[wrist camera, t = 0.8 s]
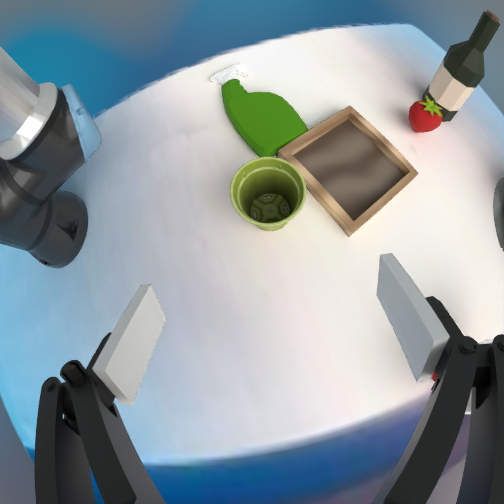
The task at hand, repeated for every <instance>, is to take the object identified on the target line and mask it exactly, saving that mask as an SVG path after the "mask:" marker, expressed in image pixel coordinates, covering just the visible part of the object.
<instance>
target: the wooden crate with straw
mask: <svg viewBox="0 0 504 504" xmlns="http://www.w3.org/2000/svg"><path fill="white" fill-rule="evenodd" d="M493 208H494V220H495V226H496V231H497V236H498V239H499V243H500V246H501V248H503V251H504V178H502V179H501V180H500V181H499V182H498V184H497V186H496V189H495V193H494V204H493Z"/></svg>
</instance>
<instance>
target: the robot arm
mask: <svg viewBox="0 0 504 504" xmlns="http://www.w3.org/2000/svg"><path fill="white" fill-rule="evenodd" d="M101 140H102V137H101V134H100V132H99V130H98V128H97V126H96V125H95V123H94V121H93V120H92V118H91V116H90V114H89V113H88V111H87V110H86V108H85V106H84V104H83V103H82V101H81V99H80V98H79V96H78V94H77V93H76V91H75V90H74V88H73V87H72V85H71V84H67V85H65V86H63V87H61V89H60V90H59V89H58V88H57V87H56V85H54V84H53V83H49V82H48V83H43V84H39V85H37V84H36V83H35V82H34V81H33V80H32V79H31V78H30V77H29V76H28V75H27V74H26V73H25V72H24V71H23V70H22V69H21V68H20V67H19V66H18V65H17V64H16V63H15V61H13V59H12V58H11V57H10V56H9V55H8V54H6V52H5V51H4V50H3V49H2V48H1V47H0V243H1V244H4V245H8V246H11V247H15V248H18V249H22V250H25V251H27V252H29V253H30V254H31V255H32V256H33V257H35V258H36V259H37V260H38V261H39V262H41V263H42V264H44V265H46V266H49V267H53V268H61V267H64V266H66V265H67V264H69V263H70V262H71V261H72V260H73V259H74V258H75V257H76V255H77V254H78V252H79V251H80V249H81V247H82V245H83V242H84V239H85V236H86V232H87V224H88V216H87V210H86V207H85V205H84V203H83V201H82V200H81V199H80V198H79V197H77V196H76V195H74V194H72V193H70V192H66V191H57V190H58V189H59V187H60V186H61V185H62V184H63V183H64V182H65V181H66V180H67V179H68V178H69V177H70V176H71V175H72V174H73V173H74V172H75V171H76V170H77V169H78V168H79V167H81V166H82V165H83V164H84V163H86V161H87V160H88V158H89V157H90V156H91V155H92V154H93V153H94V152H95V151H96V150H97V149H98V148H99V146H100V144H101ZM377 297H378V299H379V301H380V303H381V305H382V307H383V309H384V311H385V313H386V315H387V317H388V319H389V321H390V323H391V325H392V327H393V329H394V331H395V334H396V336H397V338H398V340H399V342H400V344H401V347H402V349H403V351H404V353H405V356H406V358H407V360H408V363H409V365H410V367H411V370H412V372H413V375H414V377H415V380H416V382H417V383H418V382H421V381H424V380H427V379H430V378H431V377H432V375H433V373H434V371H435V372H436V374H437V376H438V378H437V379H436V381H435V383H434V385H433V387H432V389H431V390H432V393H431V395H430V398H429V400H428V403H427V405H426V407H425V410H424V412H423V414H422V417H421V419H420V421H419V423H418V425H417V428H416V430H415V432H414V434H413V436H412V438H411V440H410V442H409V444H408V445H407V447H406V449H405V451H404V453H403V455H402V457H401V458H400V460H399V462H398V464H397V465H396V467H395V469H394V470H393V472H392V474H391V475H390V477H389V478H388V480H387V481H386V483H385V485H384V486H383V488H382V489H381V490H380V492H379V493H378V495H377V496H376V498H375V499H374V500H373V502H372V503H371V504H426V502H427V500H428V499H429V497H430V495H431V493H432V491H433V489H434V488H435V486H436V484H437V482H438V480H439V478H440V476H441V474H442V472H443V469H444V467H445V465H446V463H447V460H448V458H449V456H450V453H451V451H452V449H453V446H454V443H455V441H456V438H457V435H458V433H459V430H460V427H461V424H462V421H463V418H464V415H465V411H466V408H467V404H468V401H469V397H470V393H471V389H472V397H471V419H470V432H469V441H468V449H467V456H466V462H465V467H464V473H463V478H462V482H461V487H460V491H459V495H458V499H457V502H456V504H504V335H503V334H501V335H497V336H496V337H495V338H494V340H493V341H492V343H488V344H478V343H477V342H476V341H475V340H474V339H473V338H471V337H469V336H464V335H463V334H462V332H461V331H460V329H459V328H458V326H457V325H456V323H455V322H454V320H453V319H452V317H451V316H449V313H448V311H447V310H445V307H444V306H443V304H442V303H441V302H440V301H439V300H438V299H436V298H435V297H433V296H431V297H427V298H425V297H424V296H423V294H422V293H421V291H420V290H419V289H418V287H417V286H416V284H415V283H414V282H413V280H412V279H411V277H410V276H409V275H408V273H407V272H406V271H405V269H404V268H403V267H402V265H401V264H400V263H399V261H398V260H397V259H396V257H395V256H394V255H393V254H392V253H390V254H383V255H380V262H379V275H378V286H377ZM166 320H167V319H166V317H165V315H164V313H163V310H162V308H161V306H160V304H159V301H158V299H157V297H156V294H155V292H154V290H153V287H152V285H151V284H149V285H140V287H139V289H138V290H137V292H136V293H135V295H134V297H133V298H132V300H131V301H130V303H129V305H128V306H127V308H126V310H125V311H124V313H123V315H122V316H121V318H120V320H119V321H118V323H117V325H116V327H115V328H114V330H113V332H112V333H108V334H107V335H106V336H105V337H104V338H103V340H102V341H101V343H100V345H99V347H98V348H97V350H96V353H95V354H94V355H93V357H92V359H91V361H90V363H89V365H88V366H87V368H86V369H85V368H84V367H83V366H82V364H81V363H80V362H79V361H78V360H72V361H69V362H67V363H66V364H65V365H64V366H63V367H62V369H61V371H60V376H61V377H62V378H63V379H64V380H65V381H66V382H64V383H61V382H60V380H59V379H58V378H56V377H50V378H48V379H47V380H46V381H45V382H44V383H43V385H42V388H41V394H40V401H39V408H38V417H37V427H36V440H35V493H36V504H96V503H95V498H94V492H93V486H92V479H91V471H90V467H91V470H92V473H93V476H94V478H95V481H96V483H97V486H98V488H99V491H100V493H101V495H102V498H103V500H104V502H105V504H166V503H165V501H164V499H163V498H162V496H161V495H160V493H159V491H158V490H157V488H156V486H155V485H154V483H153V481H152V480H151V478H150V476H149V474H148V473H147V471H146V469H145V467H144V465H143V463H142V461H141V460H140V458H139V456H138V454H137V452H136V450H135V448H134V446H133V444H132V441H131V439H130V437H129V435H128V433H127V431H126V428H125V426H124V424H123V421H122V419H121V417H120V414H119V412H118V409H117V407H116V405H115V403H114V402H113V401H114V398H115V397H116V398H117V399H118V401H119V402H120V403H122V404H129V405H133V404H134V401H135V399H136V396H137V393H138V390H139V388H140V385H141V382H142V380H143V377H144V374H145V372H146V369H147V367H148V364H149V361H150V359H151V356H152V354H153V351H154V349H155V346H156V344H157V341H158V339H159V336H160V334H161V332H162V329H163V327H164V324H165V322H166ZM63 414H64V419H63Z"/></svg>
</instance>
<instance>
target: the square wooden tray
mask: <svg viewBox="0 0 504 504" xmlns="http://www.w3.org/2000/svg"><path fill="white" fill-rule="evenodd" d="M278 158H280V159H283V160H286V161H288V162H289V163H291V164H292V165H294V166H295V167H296V168H297V169H298V170H299V172H300V173H301V174H302V176H303V178H304V181H305V184H306V188H307V189H308V191H309V192H310V193H311V194H312V195H313V196H314V197H315V198H316V199H317V201H318V202H319V203H320V204H321V205H322V206H323V207H324V208H325V210H326V211H327V212H328V213H329V214H330V215H331V216H332V218H333V219H334V220H335V221H336V222H337V223H338V225H339V226H340V227H341V228H342V229H343V231H344V232H345V233H346V234H347V235H348V237H350V236H351V235H352V234H353V233H354V232H355V231H357V230H358V229H359V228H360V227H361V226H362V225H363V224H365V223H366V222H367V221H368V220H369V219H370V218H371V217H372V216H374V215H375V214H376V213H377V212H378V211H379V210H380V209H381V208H382V207H384V206H385V205H386V204H387V203H388V202H389V201H390V200H391V199H392V198H393V197H394V196H396V195H397V194H398V193H399V192H400V191H401V190H402V189H403V188H404V187H405V186H406V185H407V184H408V183H409V182H411V181H412V180H413V179H414V178H415V177H416V176H417V175H418V172H417V171H416V170H415V169H414V168H413V166H412V165H411V164H410V163H409V162H408V161H407V160H406V159H405V158H404V157H403V155H402V154H401V153H400V152H399V151H398V150H397V149H396V148H395V147H394V146H393V145H392V144H391V143H390V142H389V141H388V140H387V139H386V138H385V137H384V136H383V135H382V134H381V133H380V132H379V131H378V130H377V129H376V128H375V127H373V126H372V125H371V124H370V123H369V122H368V121H367V120H366V119H365V118H364V117H363V116H361V115H360V114H359V113H358V112H357V111H356V110H355V109H353V108H352V107H351V106H348V107H346V108H345V109H343V110H341V111H340V112H338V113H336V114H335V115H333V116H331V117H330V118H328V119H326V120H325V121H323V122H322V123H320V124H318V125H317V126H315V127H314V128H312V129H310V130H309V131H307V132H306V133H304V134H303V135H301V136H299V137H298V138H296V139H295V140H293V141H292V142H290V143H289V144H287V145H286V146H284V147H283V148H281V149H280V150H278Z"/></svg>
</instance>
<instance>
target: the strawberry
mask: <svg viewBox="0 0 504 504" xmlns="http://www.w3.org/2000/svg"><path fill="white" fill-rule="evenodd" d="M425 96H426V95H425ZM434 99H435V97H434ZM435 103H436V101H435ZM440 109H442V108H440V107H438V106H436V105H435V104H434V102H433V101H430V100H429V98H428V97H427V96H426V101H417V102H415V103H414V104H413V105H412V106H411V107H410V110H409V120H410V123H411V126H412V127H413V130H414V131H415V132H417V133H419V132H428V131H432V130H434V129H435V128H437V127H439V126H440V124H441V121H442V117H443V116H442V114H441V111H440Z"/></svg>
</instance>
